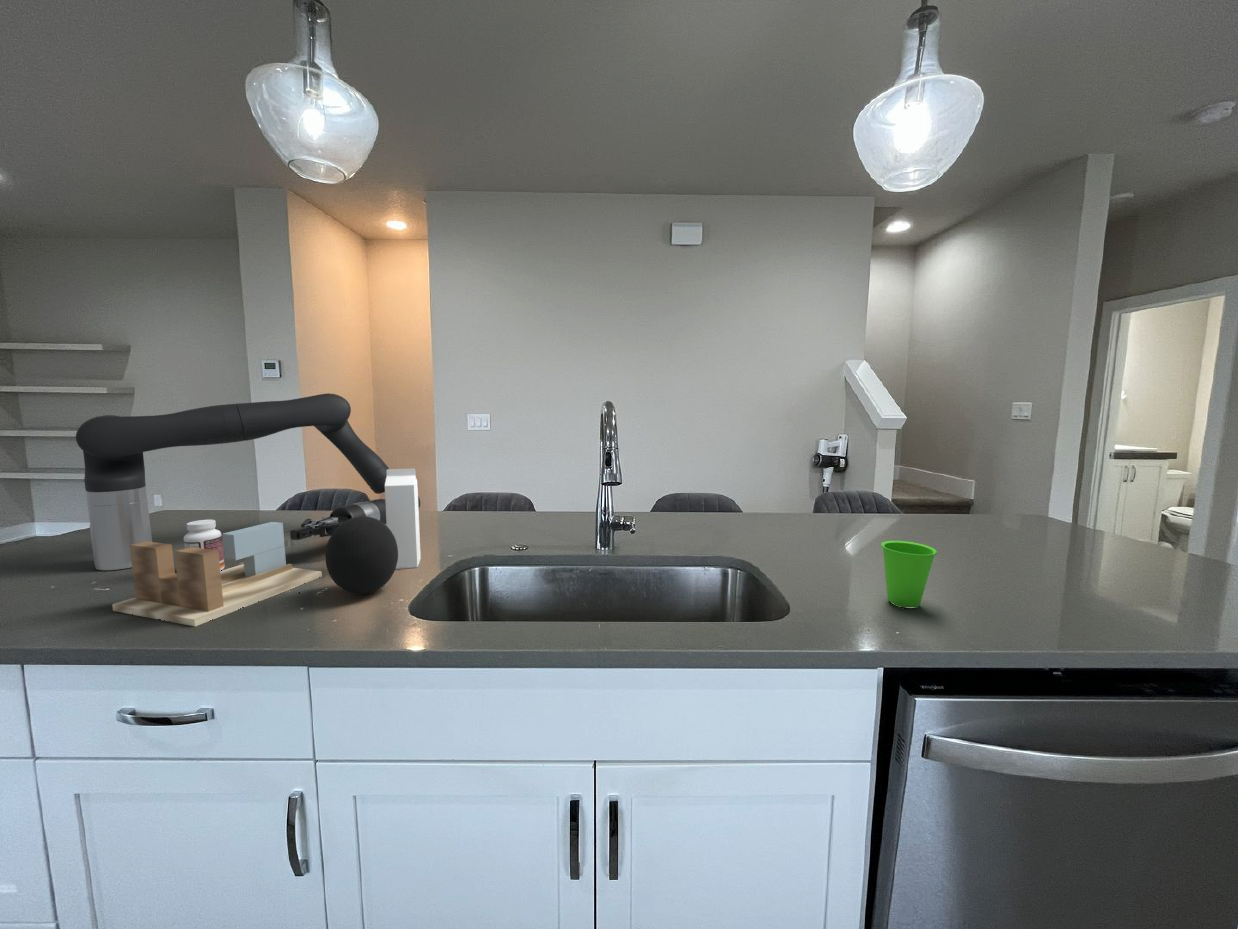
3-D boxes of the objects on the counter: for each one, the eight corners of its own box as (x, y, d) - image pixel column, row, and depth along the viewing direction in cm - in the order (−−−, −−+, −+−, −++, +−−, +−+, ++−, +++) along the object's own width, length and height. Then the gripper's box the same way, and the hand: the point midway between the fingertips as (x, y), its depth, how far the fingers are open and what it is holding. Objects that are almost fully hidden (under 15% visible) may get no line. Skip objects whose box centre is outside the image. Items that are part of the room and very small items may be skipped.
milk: (417, 568, 108) (413, 470, 106) (388, 570, 107) (383, 471, 104) (420, 559, 114) (417, 466, 111) (392, 561, 113) (388, 467, 110)
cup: (924, 598, 94) (929, 543, 93) (938, 617, 86) (943, 557, 84) (872, 591, 97) (877, 538, 96) (881, 609, 89) (885, 551, 87)
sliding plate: (226, 583, 95) (222, 533, 93) (275, 567, 104) (271, 521, 103) (238, 585, 94) (233, 535, 93) (286, 568, 103) (282, 522, 102)
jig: (113, 610, 85) (105, 548, 83) (250, 567, 108) (246, 517, 106) (195, 626, 79) (188, 560, 78) (321, 576, 102) (318, 525, 101)
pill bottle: (225, 565, 109) (220, 517, 107) (225, 572, 104) (220, 522, 103) (188, 570, 105) (182, 521, 104) (186, 579, 100) (181, 527, 99)
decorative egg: (365, 609, 86) (360, 527, 85) (312, 600, 90) (306, 521, 88) (413, 585, 98) (410, 512, 96) (364, 578, 102) (360, 508, 100)
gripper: (334, 502, 124) (268, 516, 108) (376, 505, 121) (315, 521, 104) (335, 530, 125) (271, 549, 109) (377, 535, 122) (317, 555, 105)
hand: (293, 535), depth 106 cm, fingers closed
